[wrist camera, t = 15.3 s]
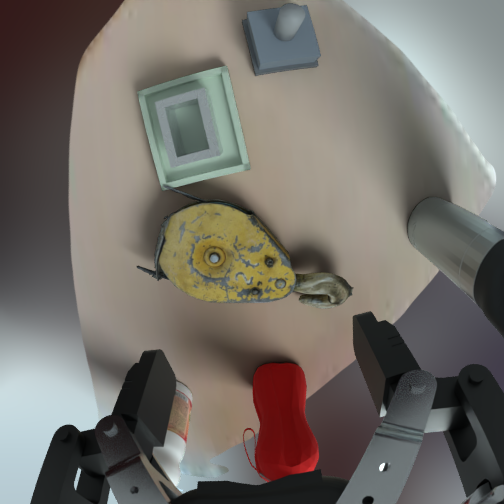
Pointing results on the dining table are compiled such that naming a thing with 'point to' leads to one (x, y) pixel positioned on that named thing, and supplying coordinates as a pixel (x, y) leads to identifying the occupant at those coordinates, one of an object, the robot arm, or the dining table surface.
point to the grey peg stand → (281, 39)
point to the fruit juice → (176, 434)
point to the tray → (196, 128)
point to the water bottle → (282, 422)
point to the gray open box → (173, 132)
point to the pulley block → (234, 259)
